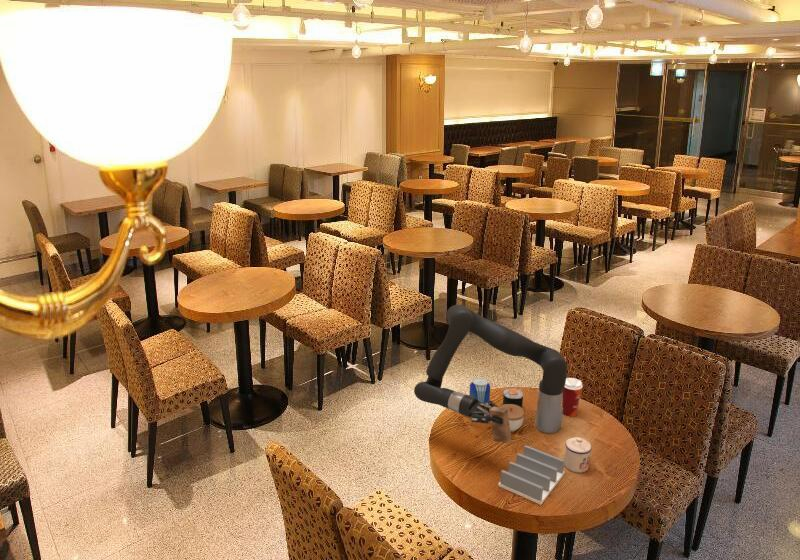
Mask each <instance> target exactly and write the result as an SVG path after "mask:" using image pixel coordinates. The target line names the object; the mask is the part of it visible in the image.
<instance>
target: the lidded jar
mask: <svg viewBox="0 0 800 560" xmlns="http://www.w3.org/2000/svg"><path fill="white" fill-rule="evenodd" d="M499 407H500V408H506V409H507V410H508V418H509V425H510V432H511V433H512V432H515V431H517V430H518V429H520V428H521V426H522V425H523V423H524V419H525V410H524V408H523V407H522V408H521V407H520V406H517V405H514V404H504V405H503V404H501V405H499Z"/></svg>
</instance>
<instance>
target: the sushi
mask: <svg viewBox="0 0 800 560" xmlns="http://www.w3.org/2000/svg"><path fill="white" fill-rule="evenodd" d="M502 395H503V396H502V398H503V399H502V405H504V404H514V405H517V406H520V407H521V408H522V409H523V403H524V402H523V401H524V393H523V392H522V390H520V389H517V388H507V389H504V390H503V394H502Z"/></svg>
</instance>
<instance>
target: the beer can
mask: <svg viewBox="0 0 800 560" xmlns="http://www.w3.org/2000/svg"><path fill="white" fill-rule="evenodd" d="M468 395H469V396H472V397H475V398H477V399H478V401H479V402H481V403H485V404H486V403H488V401H489V400H490V398H491V384H490V383H489V381H488V379H487V378H484V377H475V378H473V379H472V381H471V383H470V385H469V394H468ZM490 401H491V400H490Z"/></svg>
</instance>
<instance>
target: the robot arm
mask: <svg viewBox="0 0 800 560" xmlns="http://www.w3.org/2000/svg"><path fill="white" fill-rule="evenodd" d="M446 321H447V322H448V330H447V333H446V334H445V338H444V339H443V341H442V342H441V344H440V346H439V347H438V348H437V349H436V351H435V352H434V353H433V355H432V357H431V359H430V362H429V363H428V366H427V367H426V369H425V370H426V371H425V372H426V375H427V378H426V381H421V382H418V383H417V384H416V385H415V386H414V388H413V389H414V390H413V393H414V395H415V398H417V399H418V400H420V401H421V402H424V403H429V404H434V405H439V406H441V407H443V408H446V409H448V410H450V411H453V412H454V413H457V414H459V415H463V416H464V417H468V418H470V419H471V423H480V424H485V425H486V424H489V423H491V422H495V423H498V424H503V419H502V418H499V417H497V416H493V415H492V414H490V409H491V408H493V407H499V406H498V405H497V404H496V403H495V402H493V401H492V400H489V401H488V403H486V404H485V403H481V402H479V401H478V399H477V398H475V397H472V396H469V395H470V394H467V393H464V392H461V391H455V390H453V389H451V388H447V387H442V385H443V384H442V383H443V379H444V376H445V374H446V372H447V370H448V367H449V366H450V364H451V362H452V359H453V357H454V355H455V353H456V352H457V350H458V348H459V346H460V345H461V343H462V342H463V340H464V338H466V336H467V335H468V333H469V332H470V333H471V334H474V335H476V336H477V337H479V338H480V339H481V340H483V341H484V342H485V343H486V344H488V345H489V346H491V347H492V348H494V349H496V350H498V351H500V352H501V353H504V354H506V355H509V356H513V357H518V358H519V357H522V358H525V359H528V360H530V361H532V362H533V363H535V364H537V365H538V366H539V367H541V369H542V379H541V380H540V382H539V384H538V394H537V395H538V397H537V407H536V417H535V427H536V429H537V430H538V431H540V432H542V433H546V434H554V433H557V432H558V431H559V430H560V429H562V423H563V407H562V397H563V388H564V386H565V383H566V378H567V375H568V363H567V361H566V359H565V358H564V357H563V355H562V354H561V353H560V352H559V351H558V350H557V349H554V348H552V347H549V346H546V345H543V344H541V343H538V342H536V341H533V340H532V339H529V338H528V337H526V336H525V335H522V334H520V333H519V332H517V331H515V330H512V329H511V328H509V327H506V326H504V325H502V324H499V323H497V322H495V321H492V320H490V319H487V318H486V317H483V316H481V315H480V314H478V313H476V312H474V311H473V310H472V309H470V308H468V307H467V306H466V305H462V304H455V305H452V306H450V307H448V309H447V311H446Z"/></svg>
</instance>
